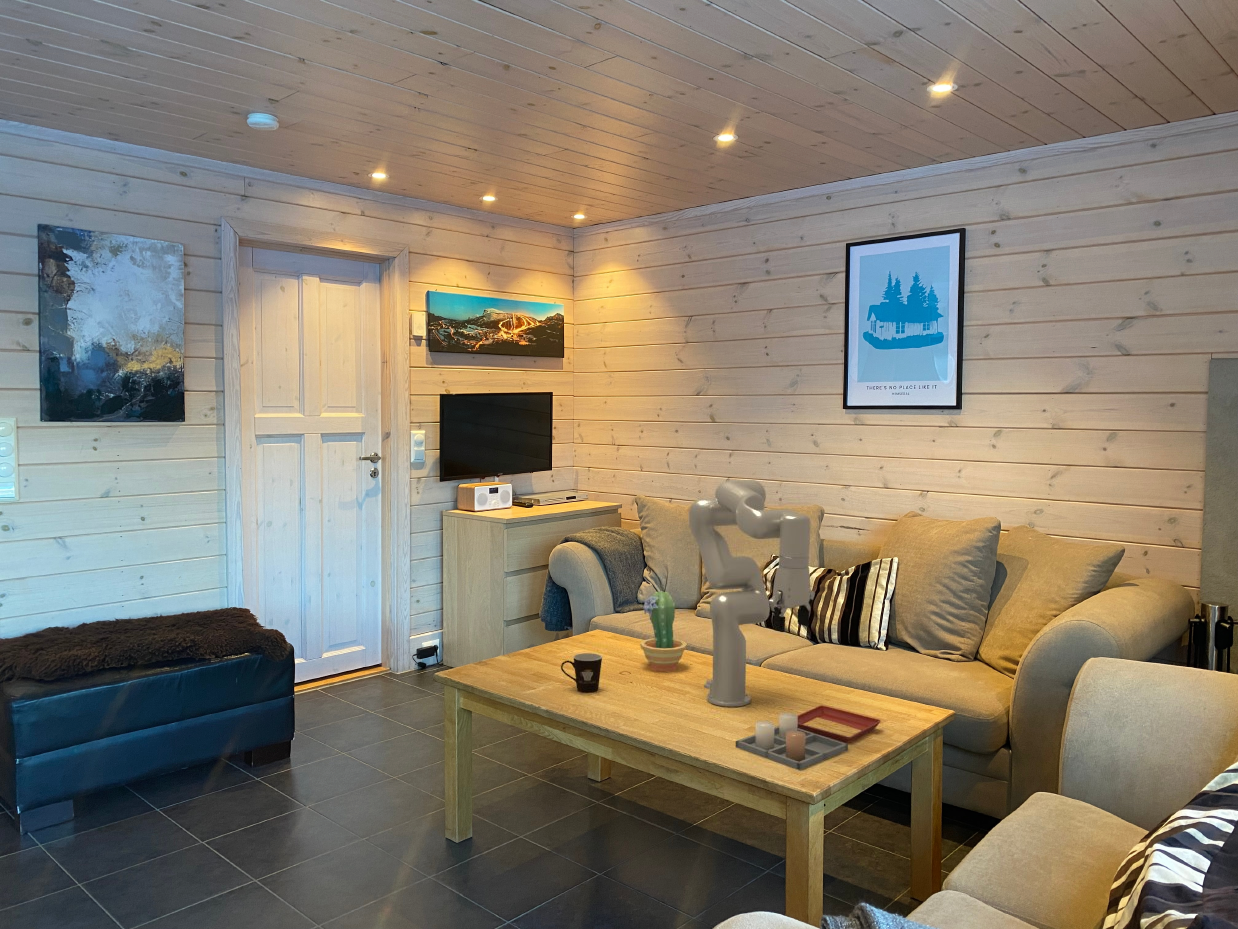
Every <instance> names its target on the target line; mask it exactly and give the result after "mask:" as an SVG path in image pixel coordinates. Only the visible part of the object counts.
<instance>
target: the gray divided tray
mask: <svg viewBox="0 0 1238 929" xmlns="http://www.w3.org/2000/svg"><path fill="white" fill-rule="evenodd" d="M797 731H801V732H803V733H805V734H806V738H805V760H802V761H800V762H798V761H795V760H792V759H789V758H787V757H786V740H784V739H781V738H779V725H777V726H774V748H773V749H771V750H768V751H767V750H764V749H761V748H758V747H755V733H754V734H752V735H748V736H747V737H744V738H740V739H738V740H735V748H737V749H739V750H743V751H745V752H748V753H750V754H753V755H756V756H759V757H761V758H764V759H768V760H770V761H772V762H775V763H778V764H781V765H784V766H787V767H789V768H792V769H795V770H797V771H801V770H804V769H807V768H809V767H811V766H813V765H816V764H818V763H820V762H823V761H826V760H828V759H830V758H833V757H836V756H837V755H840V754H842V753H845V752H847V751H849V744H848V743H847V742H842V741H838V740H835V739H831V738H827V737H824V736H821V735H818V734H815V733H811V732H808V731H805V730H802V729H799V728H797Z"/></svg>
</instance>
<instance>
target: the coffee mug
mask: <svg viewBox="0 0 1238 929" xmlns="http://www.w3.org/2000/svg"><path fill="white" fill-rule="evenodd" d="M602 660H603V656H602V655H601V654H599V653H592V652H590V653H588V652H586V653H585V652H584V653H577V654H574V655H573V661H571V660H565V661H563V662H562V663H561V665H560V669H561V672H563V673H564V675H565V676H567V677H568V678H569V679H571V680H573V681H574V682H575V684H576V690H577V692H579V693H581V694H582V693H583V694H592V693H597V692H598V691H599V688H600V687H599V685H600V678H601V668H602ZM565 664H570V665H571V666H572V667H573V669H574V676H575V677H574V676H572V675H570V674H569V673H567V672H566V671H565V670H564V668H563V667H564V665H565Z"/></svg>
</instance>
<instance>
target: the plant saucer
mask: <svg viewBox="0 0 1238 929" xmlns="http://www.w3.org/2000/svg"><path fill="white" fill-rule="evenodd" d="M797 716H798V726H797V728H799V729H802V730H805V731H808V732H811V733H815V734H818V735H821V736H824V737H827V738H830V739H833V740H837V741H840V742H843V743H846V744H848V743H851V742H852V741H854V740H856V739H858V738H859V737H862V736H863V735H865V734H867V733H868V732H869V733H871V732H872V731H874V730H875V729H876V728H877V727H878V726H879V724H880V723H881V722H882V720H881V719H878V718H874V717H871V716H867V715H864V714H858V713H855V712H850V711H846V710H842V709H840V708H835V707H831V706H827V705H818V706H816V707H814V708H812V709H809V710H807V711H805V712H802V713H801V714H798V715H797ZM817 718H820V719H821V720H822V719H823V720H824V721H825V720H826V721H829V722H832V723H835V724H839V725H842V726H846V727H847V728H848V727H849V728H852V729H856V730H859V731H857V732H856V733H854V734H852V735H850V736H847V735H844V734H840V733H836V732H832V731H829V730H825V729H822V728H818V727H814V726H811V725H807V723H809V722H811V721H813V720H814V719H817ZM870 731H871V732H870Z"/></svg>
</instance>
